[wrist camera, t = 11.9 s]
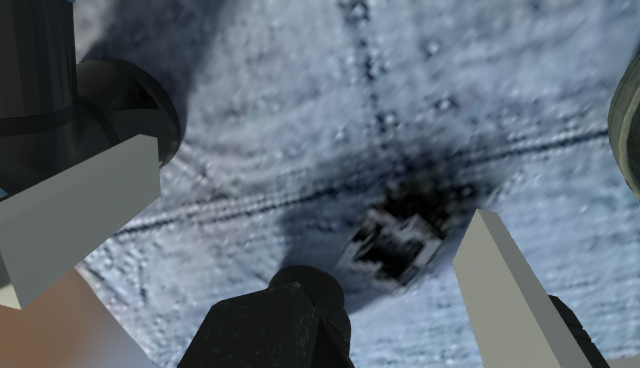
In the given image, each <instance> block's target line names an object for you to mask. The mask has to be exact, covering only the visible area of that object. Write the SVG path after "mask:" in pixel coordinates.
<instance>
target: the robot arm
mask: <svg viewBox="0 0 640 368" xmlns="http://www.w3.org/2000/svg"><path fill="white" fill-rule="evenodd" d="M73 3H75V0H0V304H1V305H5V306H8V307H12V308H16V309H21V310H22V309H23V308H24V307H25V306H27V305H28V304H29V303H30V302H32V301H33V300H34V299H35V298H36V297H38V296H39V295H40V294H41V293H42V292H44V291H45V290H46V289H47V288H49V287H50V286H51V285H52V284H53V283H55V282H56V281H57V280H58V279H60V278H61V277H62V276H63V275H64V274H66V273H67V272H68V271H69V270H71V269H72V268H73V267H74V266H75V265H77V264H78V263H79V262H80V261H81V260H83V259H84V258H85V257H86V256H88V255H89V254H90V253H91V252H92V251H94V250H95V249H96V248H97V247H99V246H100V245H101V244H102V243H103V242H105V241H106V240H107V239H108V238H109V237H111V236H112V235H113V234H114V233H116V232H117V231H118V230H119V229H120V228H122V227H123V226H124V225H125V224H127V223H128V222H129V221H130V220H131V219H133V218H134V217H135V216H136V215H137V214H139V213H140V212H141V211H142V210H144V209H145V208H146V207H147V206H148V205H150V204H151V203H152V202H153V201H155V200H156V199H157V198H158V197H159V196H161V189H160V173H159V169H161V168H162V167H164V166H165V165H166V164H168V163H169V162H170V160H171V159H172V158H173V156H174V155H175V153H176V151H177V148H178V144H179V138H180V129H179V122H178V118H177V114H176V111H175V109H174V106H173V104H172V102H171V100H170V99H169V97H168V95H167V94H166V92H165V91H164V90H163V88H162V87H161V86H160V85H159V84H158V83H157V82H156V81H155V80H154V79H153V78H152V77H151V76H150V75H149V74H147V73H146V72H145V71H143V70H142V69H140V68H139V67H137V66H135V65H133V64H131V63H128V62H126V61H123V60H119V59H112V58H103V59H96V60H89V61H85V62H81V63H79V64H77V65H76V55H75V38H74V20H73ZM452 264H453V267H454V270H455V274H456V277H457V280H458V283H459V286H460V290H461V293H462V296H463V299H464V303H465V306H466V309H467V312H468V316H469V319H470V322H471V325H472V328H473V332H474V335H475V338H476V341H477V345H478V348H479V351H480V354H481V358H482V361H483V364H484V367H485V368H610V367H609V365H608V364H607V362H606V361H605V359H604V358H603V356H602V355H601V353H600V352H599V350H598V349H597V347H596V346H595V344H594V343H591V338H590V337H589V335H588V334H587V332H586V331H585V330H583V326H582V325H581V323H580V322H579V320H578V319H577V317H576V316H575V314H574V313H573V311H572V310H571V309H569V308H568V307H567V306H566V305H565V304H564V303H563V302H562V301H561V300H560V299H559V298H558V297H556V296H552V295H548V294H547V293H546V292H545V290H544V288H543V287H542V285H541V284H540V282H539V280H538V279H537V277H536V276H535V274H534V272H533V271H532V269H531V267H530V266H529V264H528V263H527V261H526V259H525V258H524V256H523V254H522V253H521V251H520V250H519V248H518V246H517V245H516V243H515V242H514V240H513V238H512V237H511V235H510V233H509V232H508V230H507V229H506V227H505V225H504V224H503V222H502V220H501V219H500V217H499V216H498V214H497V213H495V212H491V211H486V210H482V209H477V210H476V212H475V214H474V216H473V218H472V220H471V223H470V225H469V227H468V229H467V231H466V233H465V236H464V238H463V240H462V242H461V244H460V246H459V249H458V251H457V253H456V255H455V257H454V259H453V262H452Z"/></svg>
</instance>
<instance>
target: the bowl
mask: <svg viewBox="0 0 640 368" xmlns="http://www.w3.org/2000/svg"><path fill="white" fill-rule="evenodd" d="M608 133H609V142H610V145H611V148H612V151H613V154H614V157H615V160H616V162H617V165H618V167H619V169H620V171H621V172H622V174H623V176H624V178H625V180H626V183H627V185H628V186H629V187H630V189H631V190H632V191H633V193H634V194H635V195H636V197H637V198H638V200H639V201H640V53H639V54H638V55H637V57H636V58H635V59H634V60H633V61H632V63H631V64H630V66H629V67H628V69H627V70H626V72H625V74H624V75H623V77H622V78H621V80H620V82H619V84H618V87H617V89H616V91H615V94H614V96H613V98H612V101H611V105H610V110H609V115H608Z"/></svg>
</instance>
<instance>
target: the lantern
mask: <svg viewBox="0 0 640 368" xmlns="http://www.w3.org/2000/svg"><path fill="white" fill-rule="evenodd" d="M343 306H344V293H343V291H342V288H341V286H340V285H339V283H338V282H337V281H336V280H335V279H334V278H333V277H332V276H331V275H329V274H328V273H326V272H324V271H322V270H320V269H317V268H314V267H311V266H304V265H301V266H291V267H287V268H284V269H282V270H280V271H279V272H277V273H276V274H275V275H274V276H273V278H272V279H271V281H270V283H269V286H268V288H266V289H264V290H261V291H257V292H253V293H249V294H245V295H241V296H237V297H233V298H229V299H225V300H221V301H219V302H218V303H216V304H215V305H213V306H212V307H211V308H210V310H209V312H208V314H207V315H206V317H205V319H204V321H203V322H202V324H201V326H200V328H199V329H198V331H197V333H196V335H195V336H194V338H193V340H192V342H191V343H190V345H189V347H188V349H187V350H186V352H185V354H184V356H183V357H182V359H181V361H180V363H179V364H178V366H177V368H355V367H354V365H353V363H352V361H351V360H350V358H349V351H350V338H351V323H350V320H349V317H348V315H347V313H346V311H345V310H344V309H343Z"/></svg>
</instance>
